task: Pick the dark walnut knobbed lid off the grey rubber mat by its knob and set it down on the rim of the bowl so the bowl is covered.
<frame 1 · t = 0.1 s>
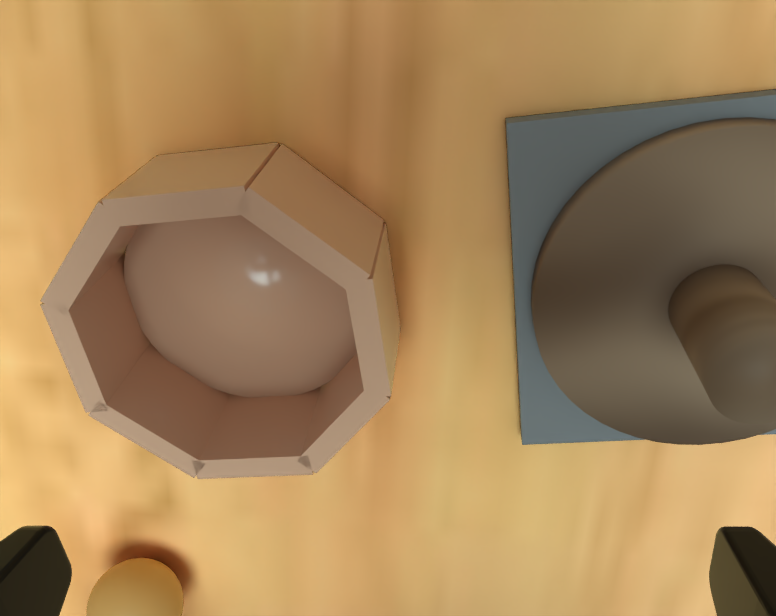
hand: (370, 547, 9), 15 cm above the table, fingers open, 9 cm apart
bowl: (252, 288, 24), on the table
lid: (705, 290, 22), point 1 cm above the table, touching mat
figurine: (160, 580, 33), on the table
mat: (700, 281, 23), on the table
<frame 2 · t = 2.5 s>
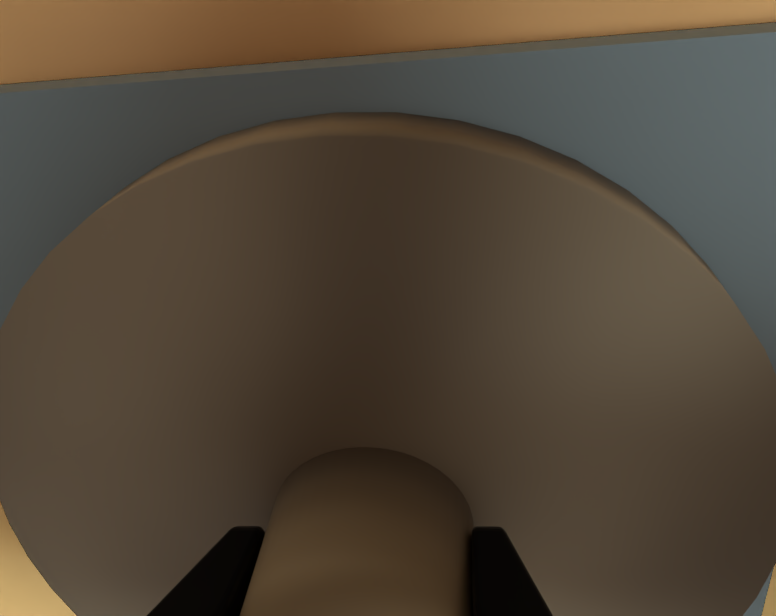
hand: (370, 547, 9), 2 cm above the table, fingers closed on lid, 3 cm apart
lid: (379, 475, 11), point 1 cm above the table, touching gripper, mat
mat: (383, 449, 11), on the table
when the fingers open (6 cm above the table, at t = 6.6 s): lid stays where it is, resting on bowl.
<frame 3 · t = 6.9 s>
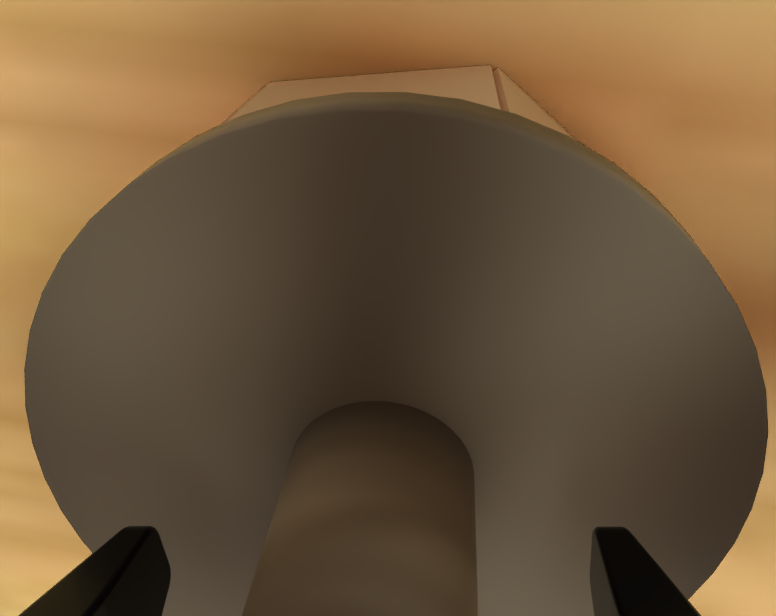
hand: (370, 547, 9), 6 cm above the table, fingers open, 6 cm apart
bowl: (401, 314, 15), on the table
lid: (387, 433, 12), point 4 cm above the table, touching bowl
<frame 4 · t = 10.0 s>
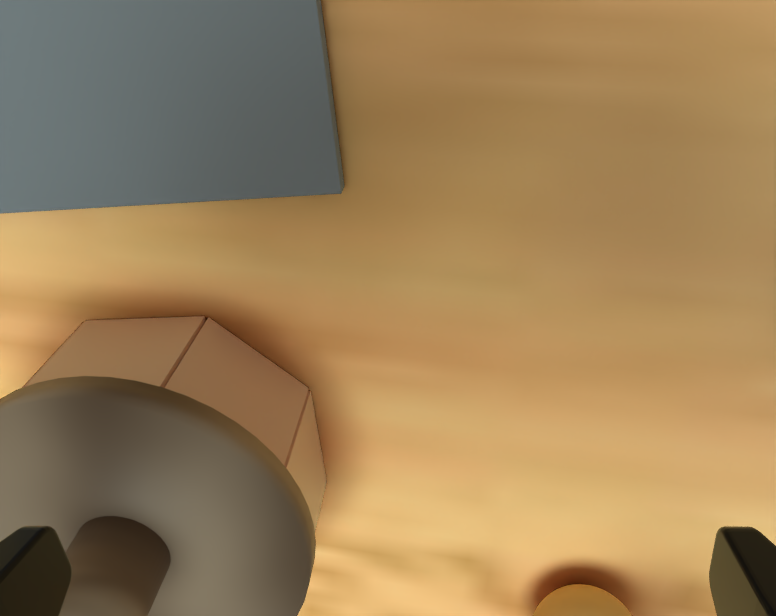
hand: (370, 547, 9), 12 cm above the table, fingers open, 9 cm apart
bowl: (181, 440, 25), on the table
lid: (137, 524, 21), point 4 cm above the table, touching bowl
figurine: (602, 593, 27), on the table
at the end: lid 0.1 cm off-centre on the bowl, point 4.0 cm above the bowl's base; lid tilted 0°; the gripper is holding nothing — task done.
